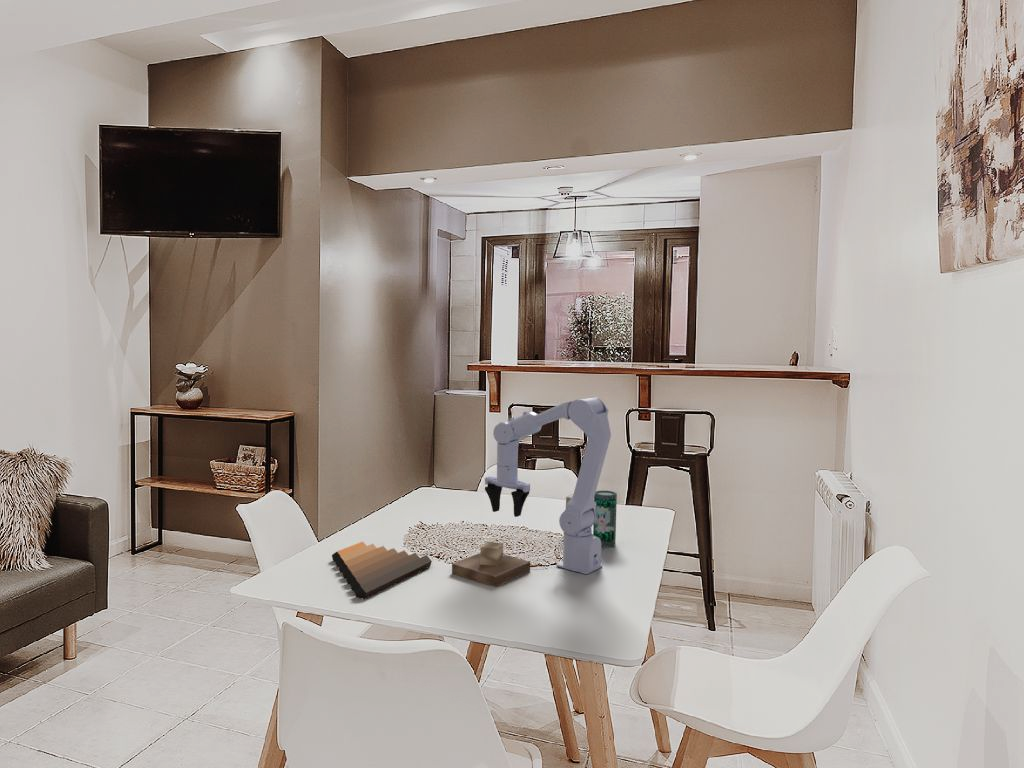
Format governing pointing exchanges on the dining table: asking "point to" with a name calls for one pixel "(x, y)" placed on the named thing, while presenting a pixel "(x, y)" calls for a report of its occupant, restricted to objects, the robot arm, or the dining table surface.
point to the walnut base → (491, 570)
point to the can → (605, 517)
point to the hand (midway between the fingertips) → (506, 513)
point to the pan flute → (376, 567)
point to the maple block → (491, 553)
